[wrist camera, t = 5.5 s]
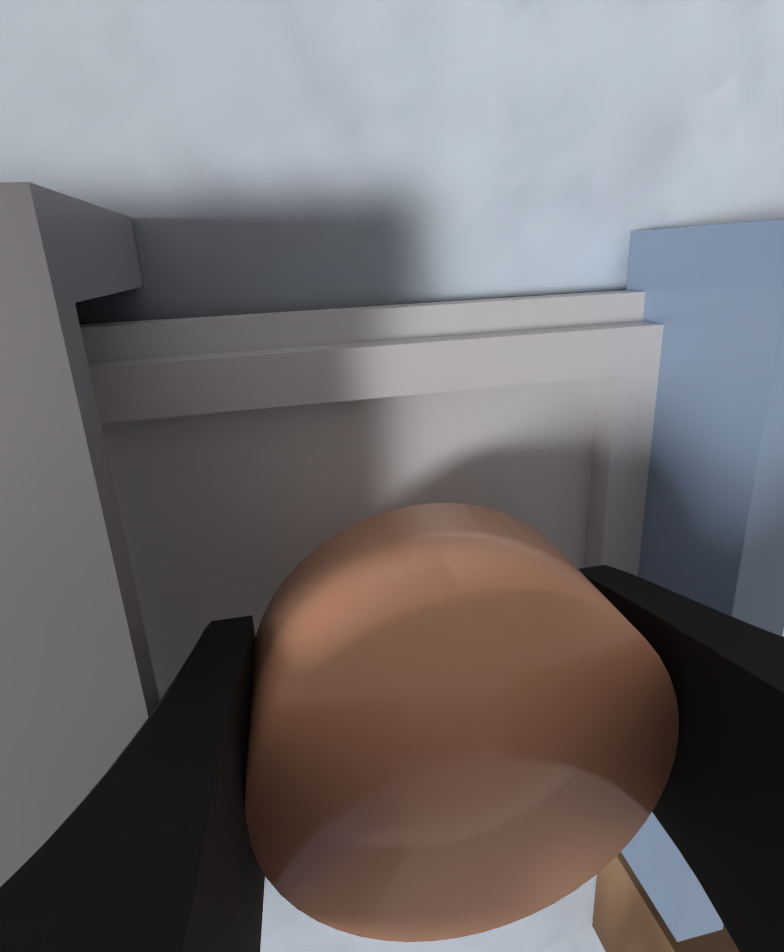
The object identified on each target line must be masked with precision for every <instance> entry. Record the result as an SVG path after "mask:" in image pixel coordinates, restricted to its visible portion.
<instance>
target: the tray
mask: <svg viewBox="0 0 784 952" xmlns="http://www.w3.org/2000/svg"><path fill="white" fill-rule="evenodd" d="M80 329H81V334H82V338H83V343H84V348H85V352H86V357H87V362H88V366H89V371H90V376H91V380H92V385H93V390H94V394H95V399H96V404H97V408H98V413H99V418H100V423H101V427H102V432H103V437H104V441H105V446H106V451H107V455H108V460H109V465H110V469H111V474H112V479H113V483H114V488H115V493H116V497H117V502H118V507H119V512H120V516H121V521H122V526H123V530H124V535H125V540H126V544H127V549H128V554H129V558H130V563H131V568H132V572H133V577H134V582H135V586H136V591H137V596H138V601H139V605H140V610H141V615H142V619H143V624H144V629H145V633H146V638H147V643H148V647H149V652H150V657H151V661H152V666H153V671H154V675H155V680H156V685H157V689H158V694H159V699H161V698H162V697H163V695H164V694H165V692H166V691H167V689H168V688H169V686H170V685H171V683H172V682H173V680H174V679H175V677H176V676H177V674H178V673H179V671H180V669H181V668H182V666H183V665H184V663H185V661H186V660H187V658H188V657H189V655H190V653H191V652H192V650H193V648H194V647H195V645H196V643H197V641H198V640H199V638H200V636H201V635H202V633H203V631H204V629H205V628H206V627H207V626H208V624H209V623H210V622H211V621H215V620H222V619H229V618H236V617H243V616H250V615H252V616H253V623H254V630H255V636H256V633H257V630H258V628H259V625H260V622H261V619H262V616H263V614H264V612H265V611H266V609H267V607H268V605H269V603H270V601H271V599H272V597H273V596H274V594H275V593H276V591H277V590H278V589H279V587H280V586H281V584H282V583H283V582H284V580H285V579H286V577H287V576H288V575H289V574H290V573H291V572H292V571H293V570H294V569H295V568H296V567H297V566H298V564H299V563H300V562H301V561H302V560H303V559H304V558H306V557H307V556H308V555H309V554H310V553H311V552H313V551H314V550H315V549H316V548H317V547H319V546H320V545H321V544H322V543H324V542H325V541H327V540H329V539H330V538H332V537H333V536H335V535H336V534H338V533H339V532H341V531H342V530H344V529H346V528H348V527H350V526H352V525H354V524H356V523H358V522H360V521H363V520H365V519H367V518H370V517H373V516H375V515H378V514H381V513H384V512H387V511H390V510H394V509H399V508H403V507H408V506H412V505H420V504H430V503H463V504H469V505H476V506H482V507H487V508H490V509H493V510H497V511H500V512H503V513H506V514H509V515H511V516H513V517H515V518H517V519H519V520H522V521H524V522H526V523H527V524H529V525H530V526H532V527H533V528H535V529H536V530H538V531H539V532H541V533H542V534H543V535H544V536H546V537H547V538H548V539H549V540H550V541H551V542H552V543H553V544H554V545H555V546H557V548H558V549H559V550H560V551H561V552H562V553H563V554H564V555H565V556H566V557H567V558H568V559H569V560H570V561H571V562H572V563H573V564H574V565H575V566H576V567H577V568H578V569H579V568H586V567H593V566H600V565H607V566H610V567H614V568H617V569H619V570H622V571H625V572H628V573H630V574H633V575H635V576H638V577H640V578H643V579H645V580H647V581H650V582H652V583H655V584H657V585H659V586H662V587H664V588H666V589H669V590H671V591H673V592H675V593H678V594H680V595H682V596H685V597H687V598H689V599H692V600H694V601H696V602H699V603H701V604H703V605H706V606H708V607H710V608H713V609H715V610H717V611H720V612H722V613H725V614H727V615H729V616H732V617H734V618H737V619H739V620H741V621H744V622H746V623H749V624H751V625H754V626H756V627H759V628H761V629H764V630H766V631H769V632H772V633H774V634H777V635H780V636H782V632H783V627H784V219H776V220H763V221H751V222H738V223H725V224H713V225H700V226H687V227H675V228H662V229H649V230H637V231H631V235H630V247H629V259H628V272H627V284H626V290H620V291H604V292H588V293H572V294H556V295H540V296H524V297H509V298H493V299H477V300H461V301H445V302H429V303H414V304H398V305H382V306H366V307H350V308H334V309H319V310H303V311H287V312H271V313H255V314H239V315H223V316H208V317H192V318H176V319H160V320H144V321H128V322H113V323H97V324H81V325H80ZM621 852H622V854H623V856H624V857H625V859H626V860H627V862H628V864H629V865H630V867H631V868H632V870H633V872H634V873H635V875H636V877H637V878H638V880H639V881H640V883H641V885H642V886H643V888H644V889H645V891H646V893H647V894H648V896H649V897H650V899H651V901H652V902H653V904H654V905H655V907H656V909H657V910H658V912H659V914H660V915H661V917H662V918H663V920H664V922H665V923H666V925H667V926H668V928H669V930H670V931H671V933H672V934H673V936H674V938H675V939H676V941H677V942H679V941H683V940H687V939H690V938H694V937H697V936H701V935H704V934H708V933H712V932H715V931H719V930H722V929H723V922H722V920H721V919H720V917H719V915H718V914H717V912H716V910H715V908H714V907H713V905H712V903H711V901H710V900H709V898H708V896H707V894H706V893H705V891H704V889H703V887H702V886H701V884H700V882H699V881H698V879H697V877H696V876H695V874H694V873H693V871H692V870H691V868H690V867H689V865H688V864H687V862H686V860H685V859H684V857H683V856H682V854H681V853H680V851H679V850H678V848H677V847H676V845H675V844H674V842H673V841H672V840H671V838H670V837H669V835H668V834H667V832H666V831H665V830H664V828H663V827H662V825H661V824H660V822H659V821H658V820H657V818H656V817H655V815H654V814H653V812H651V814H650V816H649V817H648V819H647V820H646V822H645V823H644V825H643V826H642V827H641V828H640V830H639V831H638V832H637V834H636V835H635V836H634V838H633V839H632V840H631V841H630V842H629V843H628V845H627V846H626V847H625V848H624V849H623V850H622V851H621Z"/></svg>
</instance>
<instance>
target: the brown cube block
mask: <svg viewBox="0 0 784 952" xmlns="http://www.w3.org/2000/svg"><path fill="white" fill-rule="evenodd" d="M592 926H593V928H594V929H595V931H596V933H597V935H598V937H599V939H600V941H601V943H602V945H603V947H604V949H605V951H606V952H739V950H738V948H737V947H736V945H735V943H734V941H733V940H732V938H731V936H730V934H729V933H728V931H727V929H726V927H725V926H724V924H723V929H722V930H719V931H715V932H712V933H708V934H704V935H701V936H697V937H694V938H690V939H687V940H683V941H679V942H677V941H676V939H675V938H674V936H673V934H672V933H671V931H670V930H669V928H668V926H667V925H666V923H665V922H664V920H663V918H662V917H661V915H660V914H659V912H658V910H657V909H656V907H655V905H654V904H653V902H652V901H651V899H650V897H649V896H648V894H647V893H646V891H645V889H644V888H643V886H642V885H641V883H640V881H639V880H638V878H637V877H636V875H635V873H634V872H633V870H632V868H631V867H630V865H629V864H628V862H627V860H626V859H625V857H624V856H623V854H622V852H620V853H619V854H618V855H617V856H616V857H615V858H614V859H613V860H612V861H611V862H610V863H609V864H608V865H606V866H605V867H604V868H603V869H602V870H601V871H600V872H599V873H597V883H596V894H595V904H594V914H593V925H592Z"/></svg>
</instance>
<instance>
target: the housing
mask: <svg viewBox="0 0 784 952" xmlns="http://www.w3.org/2000/svg"><path fill="white" fill-rule="evenodd" d="M140 287H143V281H142V276H141V270H140V264H139V259H138V253H137V247H136V242H135V236H134V230H133V224H132V219H131V218H130V217H127V216H124V215H121V214H119V213H116V212H113V211H110V210H107V209H104V208H101V207H98V206H96V205H93V204H90V203H87V202H84V201H81V200H78V199H76V198H73V197H70V196H67V195H64V194H61V193H58V192H55V191H53V190H50V189H47V188H44V187H41V186H38V185H35V184H32V183H30V182H14V183H0V887H1V886H2V885H3V884H4V883H5V882H6V881H7V880H8V879H9V878H10V877H11V876H12V875H13V874H14V873H15V872H16V871H17V870H18V869H19V868H20V867H21V866H22V865H24V864H25V863H26V862H27V861H28V859H29V858H30V857H31V856H32V855H33V854H34V853H35V852H36V851H37V850H38V849H39V848H40V847H41V846H42V845H43V844H44V843H45V842H46V841H47V840H48V839H49V838H50V837H51V835H52V834H53V833H54V832H55V831H56V830H57V829H58V828H59V827H60V825H61V824H62V823H63V822H64V821H65V820H66V819H67V818H68V817H69V816H70V814H71V813H72V812H73V811H74V810H75V809H76V808H77V807H78V805H79V804H80V803H81V802H82V801H83V800H84V798H85V797H86V796H87V795H88V794H89V793H90V791H91V790H92V789H93V788H94V787H95V785H96V784H97V783H98V782H99V781H100V779H101V778H102V777H103V776H104V775H105V773H106V772H107V771H108V770H109V768H110V767H111V766H112V764H113V763H114V762H115V761H116V759H117V758H118V757H119V755H120V754H121V753H122V751H123V750H124V749H125V748H126V746H127V745H128V744H129V742H130V741H131V740H132V738H133V737H134V736H135V734H136V733H137V732H138V731H139V729H140V728H141V727H142V725H143V724H144V723H145V721H146V720H147V718H148V717H149V716H150V714H151V713H152V711H153V710H154V708H155V707H156V705H157V704H158V702H159V701H160V699H159V694H158V689H157V685H156V680H155V675H154V671H153V666H152V661H151V657H150V652H149V647H148V643H147V638H146V633H145V629H144V624H143V619H142V615H141V610H140V605H139V601H138V596H137V591H136V586H135V582H134V577H133V572H132V568H131V563H130V558H129V554H128V549H127V544H126V540H125V535H124V530H123V526H122V521H121V516H120V512H119V507H118V502H117V497H116V493H115V488H114V483H113V479H112V474H111V469H110V465H109V460H108V455H107V451H106V446H105V441H104V437H103V432H102V427H101V423H100V418H99V413H98V408H97V404H96V399H95V394H94V390H93V385H92V380H91V376H90V371H89V366H88V362H87V357H86V352H85V348H84V343H83V338H82V334H81V329H80V324H79V320H78V315H77V310H76V305H75V303H76V302H80V301H84V300H89V299H93V298H97V297H101V296H106V295H110V294H114V293H118V292H123V291H127V290H131V289H135V288H140Z"/></svg>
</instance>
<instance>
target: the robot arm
mask: <svg viewBox="0 0 784 952" xmlns="http://www.w3.org/2000/svg"><path fill="white" fill-rule="evenodd" d="M579 570H580V571H581V572H582V573H583V574H584V575H585V577H586V578H587V579H588V580H589V581H590V582H591V583H592V584H593V585H594V586H595V587H596V588H597V589H598V590H599V591H600V592H601V593H602V594H603V595H604V596H605V597H606V598H607V599H608V600H609V601H610V602H611V603H612V604H613V606H614V607H615V608H616V609H617V610H618V611H619V612H620V613H621V614H622V615H623V616H624V617H625V618H626V619H627V620H628V621H629V622H630V623H631V624H632V625H633V626H634V627H635V628H636V629H637V630H638V631H639V632H640V633H641V635H642V636H643V637H644V638H645V639H646V640H647V641H648V642H649V644H650V645H651V646H652V647H653V649H654V650H655V651H656V653H657V654H658V655H659V656H660V658H661V660H662V662H663V664H664V666H665V668H666V670H667V672H668V673H669V675H670V678H671V681H672V685H673V688H674V691H675V694H676V699H677V706H678V714H679V734H678V743H677V749H676V755H675V760H674V763H673V766H672V769H671V772H670V775H669V779H668V781H667V784H666V786H665V788H664V790H663V792H662V794H661V796H660V799H659V801H658V803H657V804H656V806H655V807H654V809H653V811H652V812H653V814H654V815H655V817H656V818H657V820H658V821H659V822H660V824H661V825H662V827H663V828H664V830H665V831H666V832H667V834H668V835H669V837H670V838H671V840H672V841H673V842H674V844H675V845H676V847H677V848H678V850H679V851H680V853H681V854H682V856H683V857H684V859H685V860H686V862H687V864H688V865H689V867H690V868H691V870H692V871H693V873H694V874H695V876H696V877H697V879H698V881H699V882H700V884H701V886H702V887H703V889H704V891H705V893H706V894H707V896H708V898H709V900H710V901H711V903H712V905H713V907H714V908H715V910H716V912H717V914H718V915H719V917H720V919H721V920H722V922H723V924H724V926H725V927H726V929H727V931H728V933H729V934H730V936H731V938H732V940H733V941H734V943H735V945H736V947H737V948H738V950H739V952H784V637H782V636H780V635H777V634H774V633H772V632H769V631H766V630H764V629H761V628H759V627H756V626H754V625H751V624H749V623H746V622H744V621H741V620H739V619H737V618H734V617H732V616H729V615H727V614H725V613H722V612H720V611H717V610H715V609H713V608H710V607H708V606H706V605H703V604H701V603H699V602H696V601H694V600H692V599H689V598H687V597H685V596H682V595H680V594H678V593H675V592H673V591H671V590H669V589H666V588H664V587H662V586H659V585H657V584H655V583H652V582H650V581H647V580H645V579H643V578H640V577H638V576H635V575H633V574H630V573H628V572H625V571H622V570H619V569H617V568H614V567H610V566H607V565H600V566H593V567H586V568H579ZM254 641H255V630H254V623H253V616H252V615H250V616H243V617H236V618H229V619H222V620H215V621H211V622H210V623H209V624H208V626H207V627H206V628H205V629H204V631H203V633H202V635H201V636H200V638H199V640H198V641H197V643H196V645H195V647H194V648H193V650H192V652H191V653H190V655H189V657H188V658H187V660H186V661H185V663H184V665H183V666H182V668H181V669H180V671H179V673H178V674H177V676H176V677H175V679H174V680H173V682H172V683H171V685H170V686H169V688H168V689H167V691H166V692H165V694H164V695H163V697H162V698H161V699H160V701H159V702H158V704H157V705H156V707H155V708H154V710H153V711H152V713H151V714H150V716H149V717H148V718H147V720H146V721H145V723H144V724H143V725H142V727H141V728H140V729H139V731H138V732H137V733H136V734H135V736H134V737H133V738H132V740H131V741H130V742H129V744H128V745H127V746H126V748H125V749H124V750H123V751H122V753H121V754H120V755H119V757H118V758H117V759H116V761H115V762H114V763H113V764H112V766H111V767H110V768H109V770H108V771H107V772H106V773H105V775H104V776H103V777H102V778H101V779H100V781H99V782H98V783H97V784H96V785H95V787H94V788H93V789H92V790H91V791H90V793H89V794H88V795H87V796H86V797H85V798H84V800H83V801H82V802H81V803H80V804H79V805H78V807H77V808H76V809H75V810H74V811H73V812H72V813H71V814H70V816H69V817H68V818H67V819H66V820H65V821H64V822H63V823H62V824H61V825H60V827H59V828H58V829H57V830H56V831H55V832H54V833H53V834H52V835H51V837H50V838H49V839H48V840H47V841H46V842H45V843H44V844H43V845H42V846H41V847H40V848H39V849H38V850H37V851H36V852H35V853H34V854H33V855H32V856H31V857H30V858H29V859H28V861H27V862H26V863H25V864H24V865H22V866H21V867H20V868H19V869H18V870H17V871H16V872H15V873H14V874H13V875H12V876H11V877H10V878H9V879H8V880H7V881H6V882H5V883H4V884H3V885H2V886H1V887H0V952H260V943H261V927H262V911H263V896H264V880H265V874H264V872H263V871H262V869H261V867H260V865H259V864H258V862H257V860H256V858H255V855H254V853H253V850H252V847H251V844H250V839H249V833H248V827H247V822H246V816H245V794H246V770H247V748H248V735H249V722H250V710H251V697H252V684H253V672H254Z"/></svg>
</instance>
